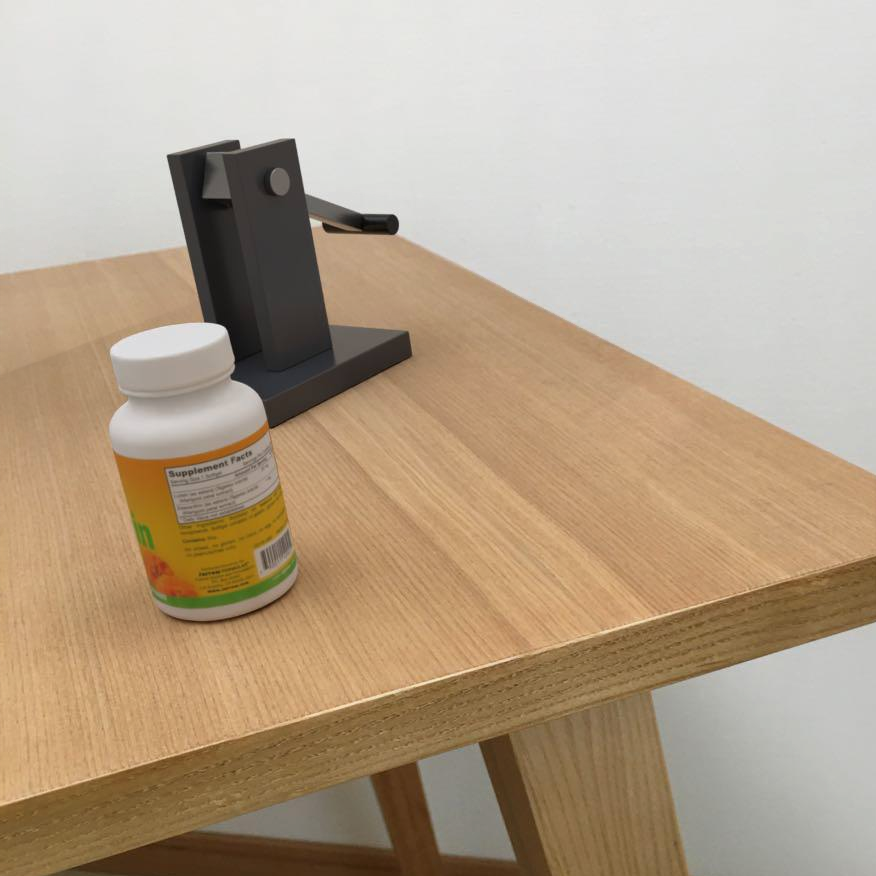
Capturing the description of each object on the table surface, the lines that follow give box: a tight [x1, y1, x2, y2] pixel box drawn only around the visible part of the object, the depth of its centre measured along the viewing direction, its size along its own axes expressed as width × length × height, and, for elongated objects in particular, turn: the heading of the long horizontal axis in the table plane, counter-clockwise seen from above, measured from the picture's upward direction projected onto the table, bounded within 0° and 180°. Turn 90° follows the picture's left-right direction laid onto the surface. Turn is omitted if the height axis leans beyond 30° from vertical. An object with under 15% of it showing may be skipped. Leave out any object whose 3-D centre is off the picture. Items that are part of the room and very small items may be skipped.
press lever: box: [202, 152, 400, 236], centre depth 68 cm, size 12×5×2 cm, turn 149°
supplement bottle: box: [108, 322, 299, 622], centre depth 44 cm, size 5×5×10 cm
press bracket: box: [166, 137, 413, 428], centre depth 66 cm, size 12×10×13 cm
